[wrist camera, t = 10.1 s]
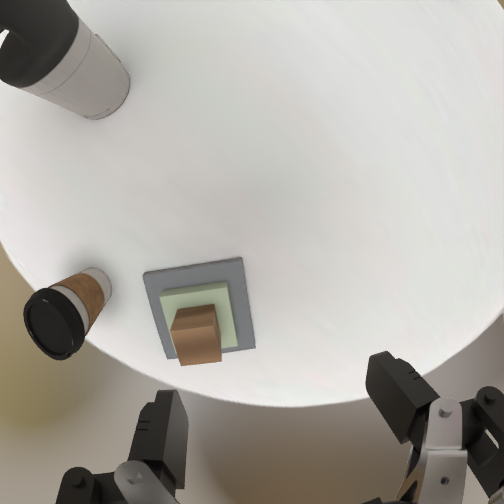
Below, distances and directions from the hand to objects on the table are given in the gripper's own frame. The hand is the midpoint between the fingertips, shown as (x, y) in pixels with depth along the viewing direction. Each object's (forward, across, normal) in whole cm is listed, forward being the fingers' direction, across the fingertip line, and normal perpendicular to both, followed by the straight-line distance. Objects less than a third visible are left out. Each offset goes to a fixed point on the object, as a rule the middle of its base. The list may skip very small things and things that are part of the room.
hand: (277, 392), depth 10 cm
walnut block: (+25, +7, +9) cm, 27 cm away
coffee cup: (+29, +23, +4) cm, 37 cm away
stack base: (+29, +7, +10) cm, 31 cm away
